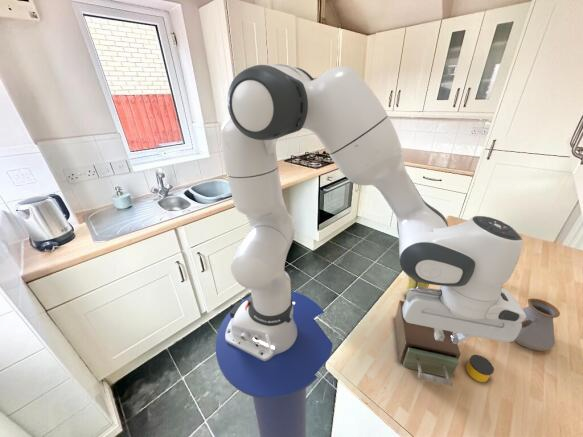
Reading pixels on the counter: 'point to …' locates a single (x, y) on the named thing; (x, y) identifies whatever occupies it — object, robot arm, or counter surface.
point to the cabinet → (421, 337)
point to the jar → (479, 368)
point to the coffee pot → (538, 325)
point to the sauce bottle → (415, 284)
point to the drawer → (431, 364)
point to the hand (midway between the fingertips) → (446, 339)
